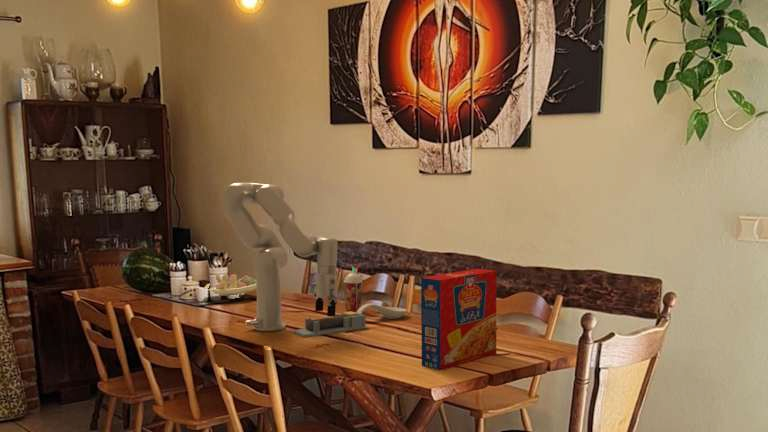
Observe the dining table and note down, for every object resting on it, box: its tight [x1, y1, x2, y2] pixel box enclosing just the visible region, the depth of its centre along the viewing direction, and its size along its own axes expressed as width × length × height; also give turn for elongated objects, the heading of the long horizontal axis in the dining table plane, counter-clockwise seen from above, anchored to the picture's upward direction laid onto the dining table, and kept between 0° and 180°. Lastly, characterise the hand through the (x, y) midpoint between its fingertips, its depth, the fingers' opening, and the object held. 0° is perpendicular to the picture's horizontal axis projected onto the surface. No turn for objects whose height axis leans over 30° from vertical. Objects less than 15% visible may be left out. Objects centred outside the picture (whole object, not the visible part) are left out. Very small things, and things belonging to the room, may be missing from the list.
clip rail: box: [293, 312, 367, 338], centre depth 265 cm, size 27×9×5 cm, turn 123°
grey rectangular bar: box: [307, 311, 358, 331], centre depth 266 cm, size 20×5×5 cm, turn 123°
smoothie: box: [343, 266, 363, 312], centre depth 301 cm, size 8×8×20 cm
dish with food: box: [203, 273, 256, 297], centre depth 336 cm, size 28×28×14 cm
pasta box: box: [420, 268, 497, 371], centre depth 221 cm, size 28×8×28 cm, turn 134°
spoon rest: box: [356, 303, 408, 320], centre depth 285 cm, size 24×12×7 cm, turn 122°
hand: (325, 313), depth 264 cm, fingers open, 9 cm apart
